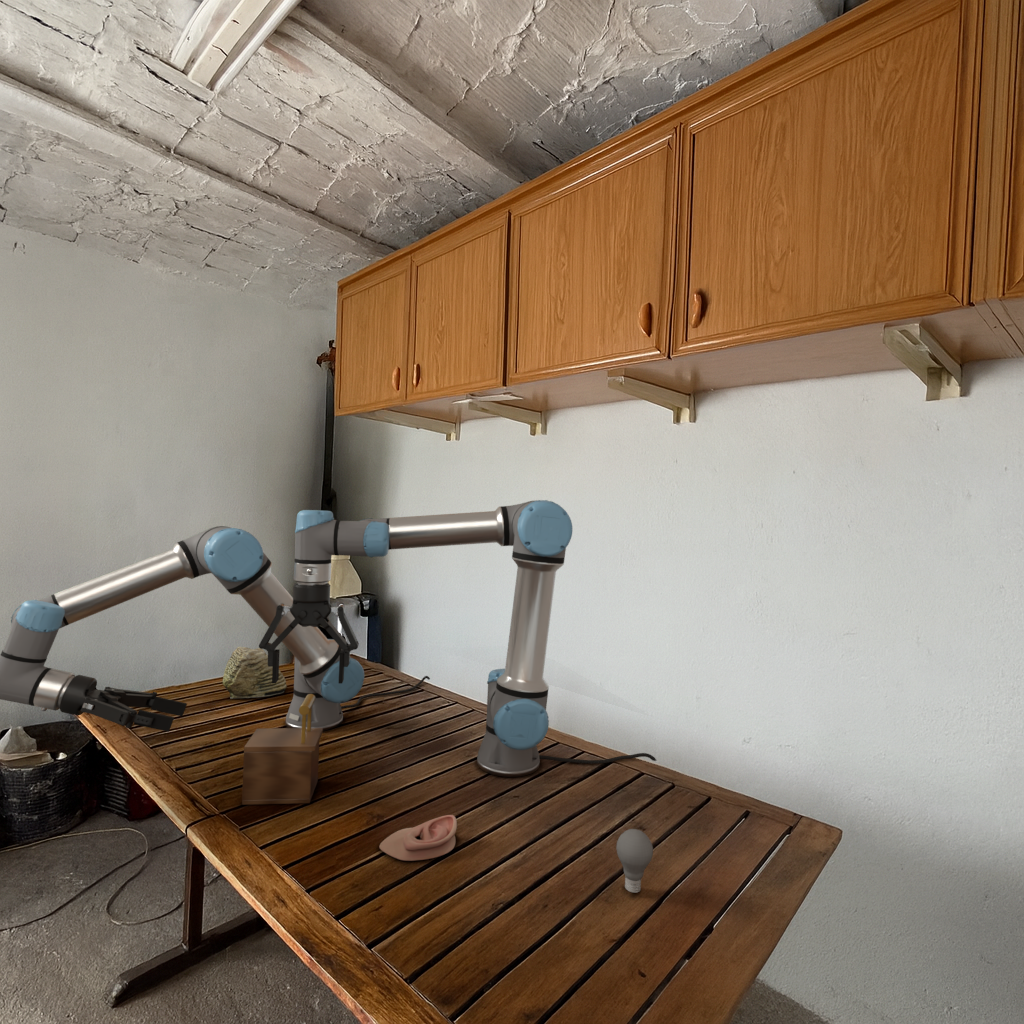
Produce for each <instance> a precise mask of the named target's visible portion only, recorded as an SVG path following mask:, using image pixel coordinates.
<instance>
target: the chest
mask: <svg viewBox="0 0 1024 1024" xmlns="http://www.w3.org/2000/svg"><path fill="white" fill-rule="evenodd" d="M319 760H320V741H319V742H318V745H317V747H316V750H315V751H283V752H244V751H243V767H242V789H241V790H242V794H241V805H242V806H244V805H245V806H246V805H247V806H248V805H289V804H291V805H292V804H310V803H311V802H312V798H313V795H314V793H315V789H316V787H317V784H318V781H319V763H320V762H319Z"/></svg>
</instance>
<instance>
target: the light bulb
mask: <svg viewBox="0 0 1024 1024" xmlns="http://www.w3.org/2000/svg"><path fill="white" fill-rule="evenodd" d="M615 849H616V854H617V857H618V859H619V861H620V863H621V865H622V867H623V873H624V874H623V875H624V876H625V878H624V888H625V890H627V891H628V892H630V893H634V894H635V893H639V892H640V891H641V889H642V887H641V886H642V879H643V877H644V875H645V871H646V868H647V867H648V866H649V864H650V863H651V861H652V859H653V855H654V847H653V843H652V841H651V838H649V836H648V835H647V834H646V833H645V832H643V831H642V830H641V829H636V828H629V829H627V830H625V831H623V832H622V833H621V834H620V835H619V837H618V839H617V841H616V847H615Z"/></svg>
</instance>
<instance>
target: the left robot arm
mask: <svg viewBox="0 0 1024 1024" xmlns="http://www.w3.org/2000/svg"><path fill="white" fill-rule="evenodd" d="M272 565H273V562H272V561H271V560H270V559H269V558H268V556H267V555H266V553H265V552H264V550H263V547H262V545H261V543H260V541H259V539H258V538H256V536H254V535H253V534H252V533H250V532H249V531H246V530H244V529H241V528H237V527H230V526H226V525H225V526H223V525H217V526H213V527H209V528H207V529H205V530H202V531H201V532H198V533H197V534H194V535H192V536H189V537H187V538H184V539H182V540H180V541H177V542H175V543H174V545H173V546H172V548H170V549H168V550H165V551H163V552H160V553H158V554H155V555H152V556H150V557H147V558H144V559H142V560H139V561H136V562H135V563H132V564H129V565H126V566H123V567H121V568H118V569H116V570H113V571H111V572H108V573H105V574H103V575H101V576H97V577H95V578H92V579H89V580H87V581H84V582H81V583H79V584H76V585H74V586H71V587H68V588H66V589H63V590H60V591H58V592H55V593H53V594H51V595H48V596H45V597H42V598H40V599H39V598H38V599H31V600H30V599H29V600H25V601H23V602H22V603H21V604H20V605H18V607H16V608H15V610H14V611H13V613H12V615H11V617H10V618H11V620H10V622H11V627H10V631H9V634H8V636H7V639H6V641H5V644H4V646H3V649H2V650H1V653H0V700H2V701H6V702H12V703H17V704H23V705H28V706H31V707H37V708H41V709H40V710H41V711H42V712H46V711H47V710H51V711H58V710H59V711H60V713H65V714H68V715H74V716H81V715H83V714H84V713H85V714H89V715H93V716H96V717H98V718H101V719H103V720H106V721H109V722H111V723H114V724H116V725H120V726H122V727H125V728H126V729H132V727H133V725H136V726H141V727H145V728H149V729H153V730H158V731H163V732H168V733H169V732H170V730H171V727H172V725H173V722H174V719H175V717H174V716H178V717H183V716H184V713H185V711H186V708H187V705H188V703H187V702H182V701H178V700H173V699H169V698H165V697H159V696H157V695H158V692H156V691H153V692H147V691H137V690H130V689H122V688H115V687H111V686H105V687H104V689H97V686H98V681H97V679H96V678H95V677H91V676H87V675H82V674H77V675H75V673H74V672H70V671H66V670H61V669H56V668H52V667H48V666H45V663H46V662H47V659H48V657H49V656H48V655H49V654H50V652H51V650H52V647H53V644H54V642H55V640H56V637H57V634H58V632H59V631H60V629H62V628H64V627H67V626H69V625H71V624H74V623H76V622H78V621H82V620H84V619H87V618H89V617H90V616H94V615H96V614H98V613H100V612H103V611H105V610H108V609H111V608H113V607H116V606H118V605H120V604H123V603H125V602H128V601H131V600H133V599H135V598H138V597H140V596H143V595H145V594H147V593H150V592H152V591H155V590H157V589H160V588H162V587H165V586H167V585H170V584H172V583H175V582H177V581H180V580H182V579H185V578H188V579H191V580H194V579H196V578H198V577H201V576H205V575H209V574H212V575H213V576H214V577H215V579H216V580H217V581H218V582H219V583H220V584H221V585H222V586H223V588H224V589H225V590H226V591H227V592H228V593H229V594H230V595H238V596H241V598H242V599H243V600H244V601H245V602H246V603H247V604H248V605H249V607H250V608H251V609H252V610H253V611H254V612H255V613H256V614H257V616H259V618H260V619H261V620H262V621H263V622H264V623H265V625H267V627H268V628H269V626H270V624H271V623H272V621H273V619H274V617H275V615H276V609H277V606H279V605H280V604H284V605H287V606H292V604H293V595H291V593H289V591H288V590H287V589H286V588H285V587H284V585H283V584H282V583H281V582H280V581H279V580H278V578H277V577H276V576H275V574H274V573H273V572H272ZM294 619H295V618H294V617H293V615H292V614H291V612H290V611H289V612H287V614H286V615H284V616H283V617H282V619H281V621H280V623H279V624H278V626H277V628H276V630H275V632H274V633H273V634H274V635H275V636H276V638H277V637H278V636H279V635H280V634H281V633H282V632H283V631H284V630H285V629H286V628H287V627H288V626H289V625H290V624H291V622H292V621H293V620H294ZM281 643H282V644H283V645H284V646H285V647H286V648H287V650H288V651H289V652H290V653H291V654H292V655H293V656H294V672H293V695H292V696H293V697H292V699H291V702H290V704H289V708H288V711H287V713H286V715H285V726H286V728H302V715H301V714H300V713H299V708H300V706H301V705H302V703H303V701H304V699H305V698H306V696H307V695H308V694H313V695H314V696H315V701H314V703H313V705H312V712H311V728H323V732H325V731H329V730H332V729H335V728H337V727H339V726H340V725H342V723H343V722H344V714H343V710H344V709H352V708H356V707H358V706H359V705H360V703H361V701H362V700H364V699H367V698H371V697H382V696H388V695H396V694H403V693H408V692H411V691H414V690H415V689H417V688H418V687H419V686H420V685H421V684H423V682H424V681H425V680H426V679H427V680H429V681H430V680H431V678H430V676H428V675H424V676H423V678H421V680H420V681H419V682H417V683H416V684H415V685H414V686H412V687H409V688H407V689H401V690H393V691H387V692H377V693H370V694H365V695H363V696H361V697H359V698H358V700H357V702H356V703H353V704H346V705H341V704H344V703H347V702H349V701H351V700H352V699H354V698H355V697H356V696H357V695H358V694H359V693H360V691H361V689H362V688H363V686H364V681H365V670H364V667H363V666H362V664H361V663H360V662H359V661H358V660H357V659H356V658H353V657H351V656H350V663H349V665H348V667H344V680H343V683H339V659H340V652H341V650H342V649H341V647H340V646H339V645H338V644H337V643H336V641H335V640H334V639H333V638H327V636H326V635H325V634H324V633H323V631H321V629H320V628H319V626H318V627H312V626H307V627H302V626H301V625H299V624H298V625H297V626H296V627H295V628H294V629H293V630H292V631H291V632H290V633H289V634H288V635H287V636H286V637H285V639H284V640H283V641H282V642H281ZM134 708H145V709H146V708H147V709H150V710H151V711H148V710H143V709H139V710H136V709H134ZM152 711H156V712H152ZM157 712H160V713H157ZM161 713H165V714H166V715H165V714H161ZM167 714H170V715H172V716H170V715H167ZM173 715H174V716H173ZM307 720H308V714H307V715H306V728H307Z"/></svg>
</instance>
